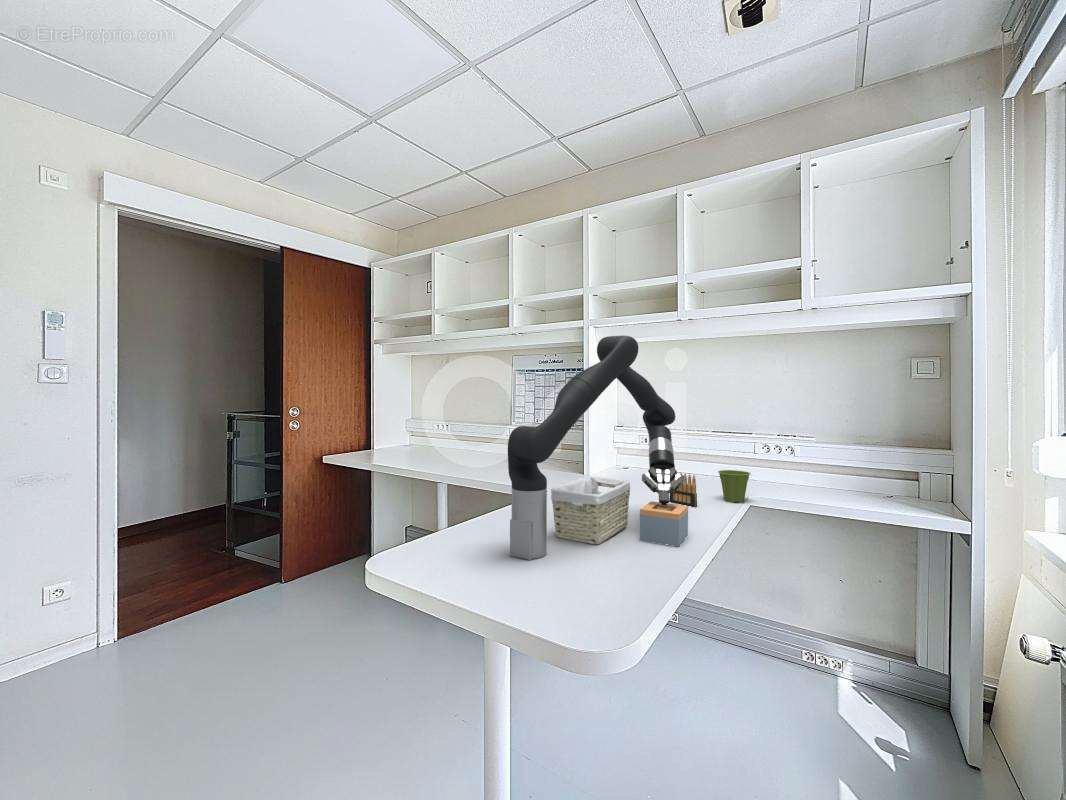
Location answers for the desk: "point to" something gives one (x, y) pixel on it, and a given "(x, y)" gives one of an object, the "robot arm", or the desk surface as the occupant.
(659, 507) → the peg
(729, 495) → the plant pot
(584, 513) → the storage basket
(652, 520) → the sleeve
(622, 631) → the desk surface
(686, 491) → the ammunition clip
